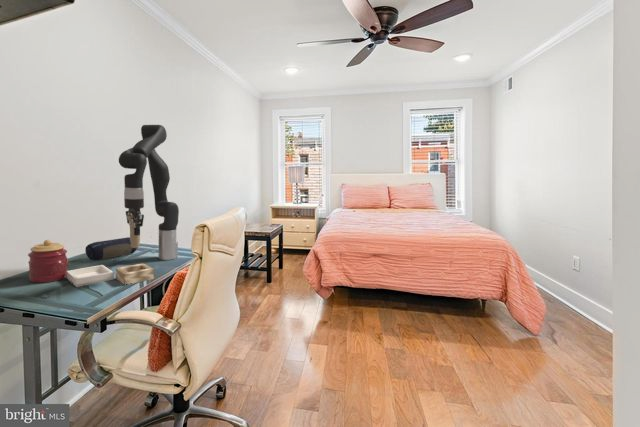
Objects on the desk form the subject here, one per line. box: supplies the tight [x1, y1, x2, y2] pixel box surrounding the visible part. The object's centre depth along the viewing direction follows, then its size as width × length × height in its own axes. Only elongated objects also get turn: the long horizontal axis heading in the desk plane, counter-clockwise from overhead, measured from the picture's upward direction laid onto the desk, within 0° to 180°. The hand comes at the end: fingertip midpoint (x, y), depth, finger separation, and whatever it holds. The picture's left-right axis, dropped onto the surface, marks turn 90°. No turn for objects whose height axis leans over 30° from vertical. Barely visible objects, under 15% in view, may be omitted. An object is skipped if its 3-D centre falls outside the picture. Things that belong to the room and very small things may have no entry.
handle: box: [125, 215, 141, 249], centre depth 139 cm, size 5×6×15 cm
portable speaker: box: [85, 236, 138, 261], centre depth 170 cm, size 25×10×10 cm, turn 151°
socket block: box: [115, 263, 155, 286], centre depth 142 cm, size 12×11×5 cm
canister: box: [27, 239, 69, 284], centre depth 134 cm, size 13×13×18 cm
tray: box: [66, 264, 115, 288], centre depth 138 cm, size 14×14×4 cm
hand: (135, 234), depth 139 cm, fingers closed on handle, 4 cm apart
